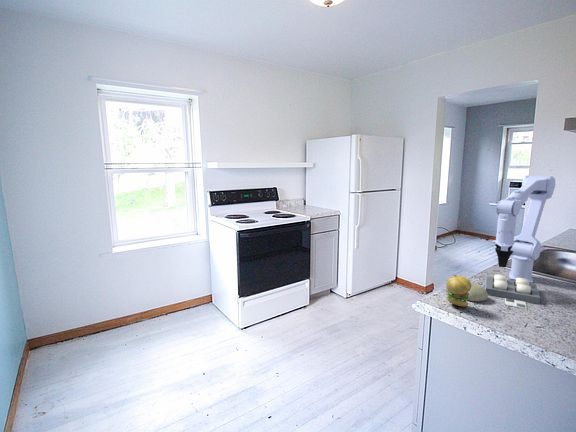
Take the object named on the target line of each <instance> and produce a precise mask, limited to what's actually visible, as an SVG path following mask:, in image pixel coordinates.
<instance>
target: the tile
mask: <svg viewBox="0 0 576 432" xmlns="http://www.w3.org/2000/svg"><path fill="white" fill-rule="evenodd" d="M526 303H527V302H524V301H519V300H513V299H508V298H504V305H505V306H508V307H514V308H518V309H522V310H523V309H525V310H528V309H527V304H526Z"/></svg>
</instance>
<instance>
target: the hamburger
mask: <svg viewBox="0 0 576 432" xmlns="http://www.w3.org/2000/svg"><path fill="white" fill-rule="evenodd" d="M471 284H472V282H471V281H470V280H469V279H468V278H467V277H466V276H462V275H461V276H460V275H457V274H452V277H450V278H448V280H447V281H446V292H447V293H446V300H447V301H448V302H449V303H450V304H452V305H454V306H458V307H461V308H466V307H468V306H469V302H467V301H469V300H468V299H469V298H468V295H469V293H468V291H470V289H471Z"/></svg>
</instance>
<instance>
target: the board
mask: <svg viewBox="0 0 576 432" xmlns="http://www.w3.org/2000/svg"><path fill="white" fill-rule="evenodd" d="M507 282H508V285H507V291H506V290H501V289H495V288H494V276H487V277H486V283H485V290H486V291H487V294H488V296H492V297H496V298H497V297H498V298H503V299H505V298H507V299H512V300H518V301H523V302H526V303H529V304H530V303H531V304H537V305H540V304H541V303H540V302H541V297H540V293H539V289H538V287H537V284H536V283H531V282H529V285H530V286H531V293H530V295H529V294H523V293H518V292H516V288H517V286H515V283H516V280H512V279H507Z"/></svg>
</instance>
